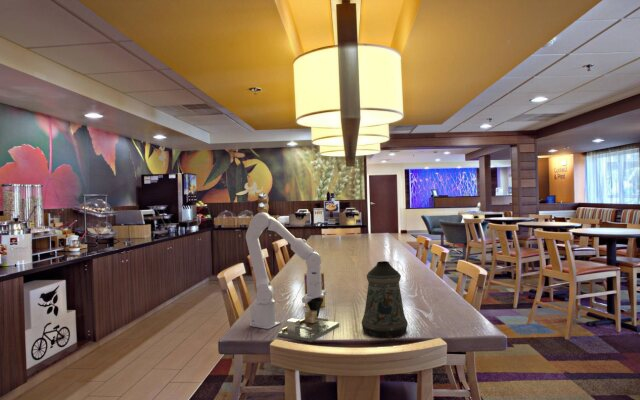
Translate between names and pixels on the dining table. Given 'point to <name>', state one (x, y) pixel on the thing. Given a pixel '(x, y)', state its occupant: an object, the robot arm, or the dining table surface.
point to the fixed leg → (295, 326)
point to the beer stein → (384, 304)
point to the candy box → (322, 288)
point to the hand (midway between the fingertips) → (315, 317)
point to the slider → (312, 316)
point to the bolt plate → (310, 335)
